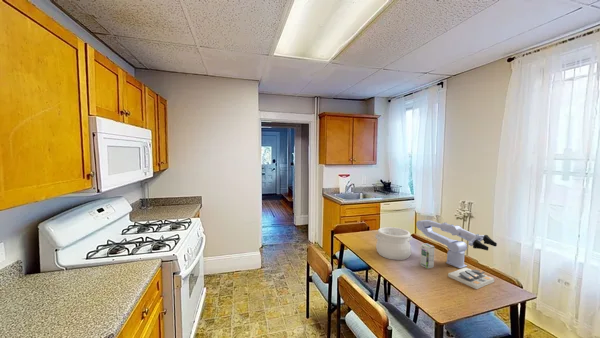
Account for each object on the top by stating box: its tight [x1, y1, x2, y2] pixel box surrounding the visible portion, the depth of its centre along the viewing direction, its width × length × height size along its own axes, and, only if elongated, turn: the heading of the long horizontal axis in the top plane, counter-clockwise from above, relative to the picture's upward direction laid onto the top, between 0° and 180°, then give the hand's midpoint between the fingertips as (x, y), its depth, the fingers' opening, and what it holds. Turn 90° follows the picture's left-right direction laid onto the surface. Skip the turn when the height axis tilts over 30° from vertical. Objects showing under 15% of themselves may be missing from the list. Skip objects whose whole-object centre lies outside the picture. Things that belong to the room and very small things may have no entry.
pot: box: [375, 226, 413, 261], centre depth 185 cm, size 26×24×18 cm
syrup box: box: [420, 243, 435, 269], centre depth 166 cm, size 6×6×14 cm
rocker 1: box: [459, 271, 474, 280], centre depth 146 cm, size 6×4×1 cm, turn 27°
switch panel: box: [447, 267, 495, 290], centre depth 149 cm, size 16×18×2 cm
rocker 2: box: [465, 270, 479, 278], centre depth 149 cm, size 6×4×1 cm, turn 27°
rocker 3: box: [471, 269, 485, 274], centre depth 151 cm, size 6×4×1 cm, turn 27°
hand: (492, 246), depth 148 cm, fingers open, 7 cm apart
